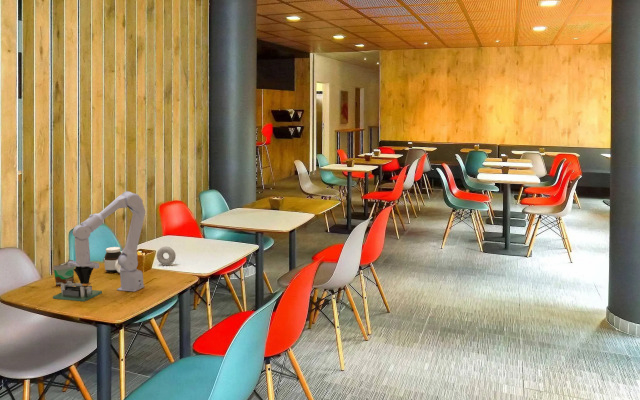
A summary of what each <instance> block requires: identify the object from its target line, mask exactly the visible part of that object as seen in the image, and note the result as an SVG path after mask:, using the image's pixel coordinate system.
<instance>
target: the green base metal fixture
mask: <svg viewBox="0 0 640 400" xmlns="http://www.w3.org/2000/svg"><path fill="white" fill-rule="evenodd" d="M67 283H72V281H67ZM60 291H61V292H59V293H57V294H55V295H53V296H52V299H54V300H55V299H56V300H67V301H74V302H75V301H76V302H86V301H88V300H91V299H93V298H95V297H97V296H99V295H101V294H103V291H102V290H94V289H93V286H92V285H88V286H66V284H61V286H60Z"/></svg>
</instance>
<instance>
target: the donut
mask: <svg viewBox="0 0 640 400" xmlns="http://www.w3.org/2000/svg"><path fill="white" fill-rule="evenodd" d="M164 254H168V257H167V258H165V257H164ZM156 259H157V261H158V263H159V264H161V265H163V266H169V265H172V264H173V263H174V262H175V260H176V252H175V249H173V248H172V247H170V246H162V247H160V248H159V249H158V250H157V252H156Z"/></svg>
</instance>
